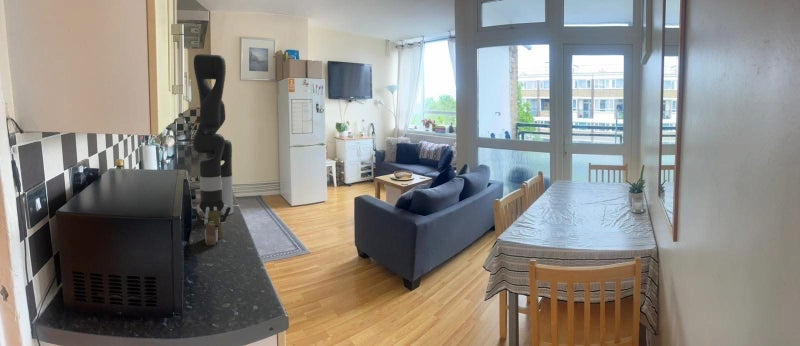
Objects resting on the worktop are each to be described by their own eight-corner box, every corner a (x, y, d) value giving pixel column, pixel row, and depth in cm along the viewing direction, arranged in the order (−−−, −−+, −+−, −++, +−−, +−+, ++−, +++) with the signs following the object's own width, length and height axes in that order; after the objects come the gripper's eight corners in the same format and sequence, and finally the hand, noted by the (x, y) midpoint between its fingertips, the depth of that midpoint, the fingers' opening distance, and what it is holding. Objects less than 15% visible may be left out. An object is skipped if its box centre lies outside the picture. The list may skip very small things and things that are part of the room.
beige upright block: (207, 240, 168) (207, 221, 167) (216, 240, 169) (215, 220, 168) (206, 245, 163) (205, 225, 162) (215, 244, 164) (214, 224, 163)
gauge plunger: (206, 239, 169) (205, 222, 168) (218, 238, 170) (218, 221, 169) (204, 242, 164) (204, 225, 163) (218, 242, 166) (217, 224, 165)
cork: (226, 235, 175) (225, 207, 173) (217, 240, 169) (216, 211, 167) (212, 233, 176) (211, 206, 174) (202, 238, 170) (201, 210, 168)
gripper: (231, 185, 174) (233, 228, 177) (191, 186, 170) (193, 231, 173) (230, 189, 167) (232, 234, 170) (189, 190, 163) (191, 237, 166)
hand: (212, 232), depth 172 cm, fingers closed on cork, 3 cm apart
